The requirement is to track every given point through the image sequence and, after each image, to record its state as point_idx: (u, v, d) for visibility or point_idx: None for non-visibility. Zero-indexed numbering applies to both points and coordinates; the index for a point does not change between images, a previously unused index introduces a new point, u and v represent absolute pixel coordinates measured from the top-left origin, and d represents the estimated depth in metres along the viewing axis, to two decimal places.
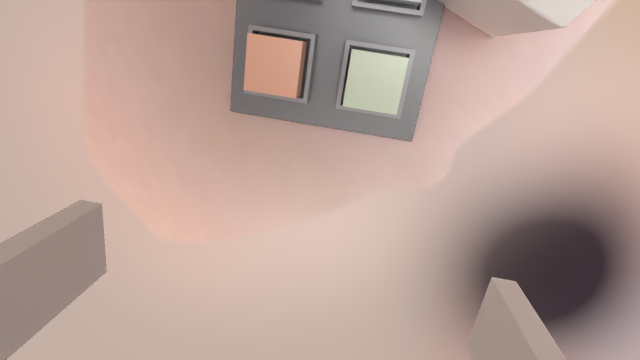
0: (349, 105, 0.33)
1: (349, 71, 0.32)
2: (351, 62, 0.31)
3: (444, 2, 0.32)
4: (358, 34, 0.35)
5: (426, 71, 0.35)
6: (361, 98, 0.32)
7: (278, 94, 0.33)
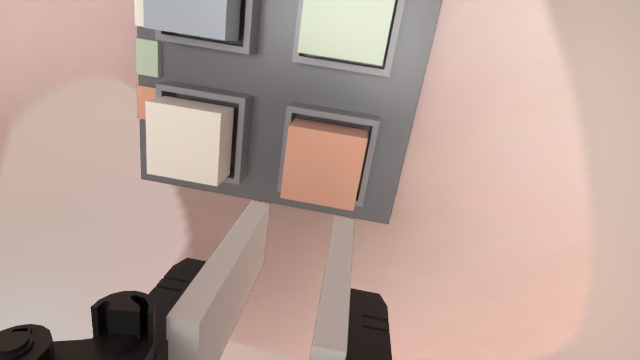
0: (381, 54, 0.20)
1: (329, 55, 0.21)
2: (316, 52, 0.21)
3: None
4: (289, 44, 0.25)
5: None
6: (370, 33, 0.20)
7: (360, 163, 0.23)
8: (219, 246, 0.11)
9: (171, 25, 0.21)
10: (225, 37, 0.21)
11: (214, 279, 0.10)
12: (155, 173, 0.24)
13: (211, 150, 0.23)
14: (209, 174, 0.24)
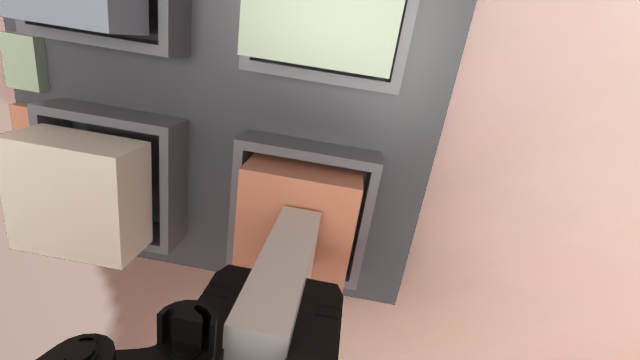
0: (387, 58, 0.11)
1: (293, 60, 0.11)
2: (270, 55, 0.12)
3: None
4: None
5: None
6: (368, 19, 0.11)
7: (353, 227, 0.14)
8: (261, 253, 0.11)
9: (13, 6, 0.12)
10: (111, 29, 0.12)
11: (263, 286, 0.10)
12: (22, 248, 0.15)
13: (106, 216, 0.14)
14: (107, 252, 0.15)
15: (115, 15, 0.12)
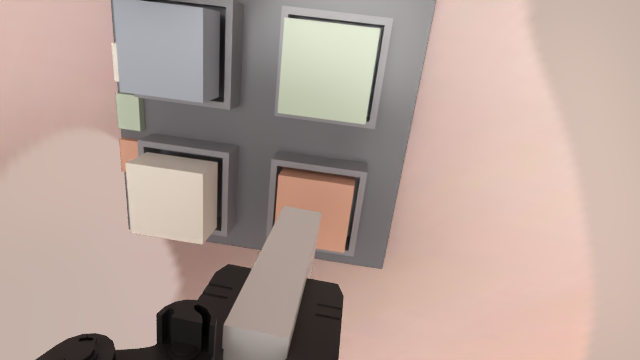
0: (363, 113, 0.20)
1: (310, 115, 0.20)
2: (296, 112, 0.20)
3: None
4: (272, 94, 0.24)
5: None
6: (351, 92, 0.19)
7: (349, 209, 0.23)
8: (261, 252, 0.11)
9: (147, 88, 0.20)
10: (204, 99, 0.20)
11: (263, 286, 0.10)
12: (139, 232, 0.24)
13: (195, 209, 0.23)
14: (194, 233, 0.23)
15: (205, 91, 0.21)
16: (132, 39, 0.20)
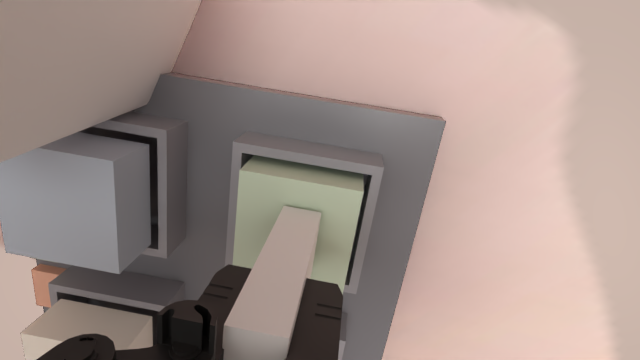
0: (340, 283, 0.15)
1: None
2: None
3: (148, 81, 0.16)
4: (227, 229, 0.19)
5: (287, 99, 0.16)
6: (325, 260, 0.15)
7: None
8: (261, 253, 0.11)
9: (43, 252, 0.15)
10: (121, 269, 0.15)
11: (263, 286, 0.10)
12: None
13: None
14: None
15: (124, 256, 0.15)
16: (17, 192, 0.14)
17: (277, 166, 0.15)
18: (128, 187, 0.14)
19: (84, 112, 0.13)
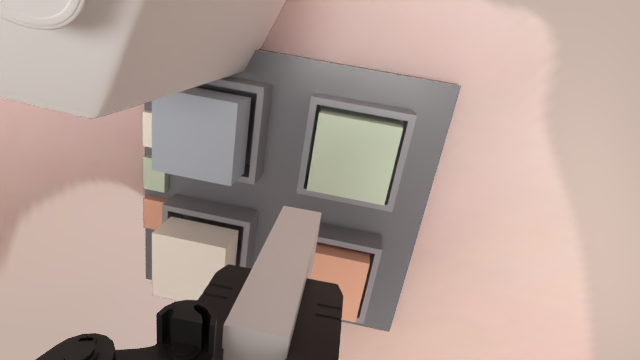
0: (383, 196, 0.22)
1: (335, 194, 0.22)
2: (323, 191, 0.23)
3: (250, 52, 0.22)
4: (294, 167, 0.25)
5: (347, 69, 0.23)
6: (374, 178, 0.22)
7: (363, 284, 0.24)
8: (261, 252, 0.11)
9: (178, 169, 0.21)
10: (232, 183, 0.21)
11: (263, 286, 0.10)
12: (160, 295, 0.25)
13: None
14: None
15: (233, 174, 0.21)
16: (167, 125, 0.21)
17: (341, 113, 0.22)
18: (240, 125, 0.21)
19: (222, 66, 0.19)
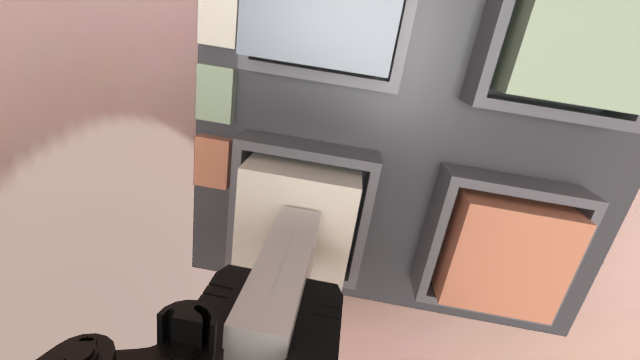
0: None
1: (559, 99, 0.13)
2: (538, 94, 0.13)
3: None
4: (450, 74, 0.15)
5: None
6: (639, 64, 0.12)
7: (577, 260, 0.15)
8: (261, 252, 0.11)
9: (288, 50, 0.11)
10: (388, 73, 0.11)
11: (263, 286, 0.10)
12: None
13: (338, 243, 0.15)
14: (331, 277, 0.15)
15: None
16: None
17: None
18: None
19: None
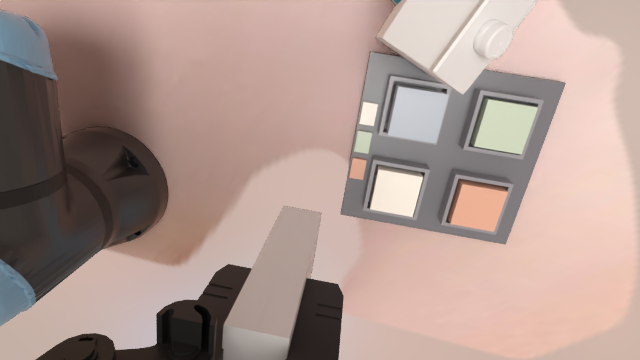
0: (521, 148, 0.37)
1: (492, 148, 0.38)
2: (484, 146, 0.38)
3: None
4: (455, 135, 0.41)
5: (496, 73, 0.38)
6: (517, 138, 0.37)
7: (502, 205, 0.40)
8: (261, 252, 0.11)
9: (405, 134, 0.37)
10: (436, 141, 0.37)
11: (263, 286, 0.10)
12: (375, 209, 0.41)
13: (413, 196, 0.40)
14: (409, 210, 0.41)
15: None
16: (403, 108, 0.36)
17: (497, 100, 0.37)
18: None
19: None
